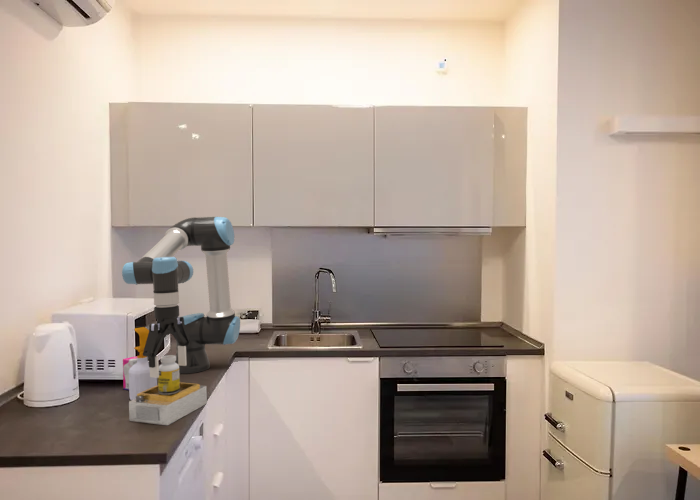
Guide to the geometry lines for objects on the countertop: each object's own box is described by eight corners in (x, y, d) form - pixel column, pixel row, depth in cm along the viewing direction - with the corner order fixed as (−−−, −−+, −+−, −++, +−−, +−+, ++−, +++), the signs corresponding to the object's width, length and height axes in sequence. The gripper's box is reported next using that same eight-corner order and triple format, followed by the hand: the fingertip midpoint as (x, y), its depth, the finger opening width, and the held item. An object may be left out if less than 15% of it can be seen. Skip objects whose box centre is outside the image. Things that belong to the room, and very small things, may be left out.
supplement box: (146, 387, 187) (145, 357, 187) (132, 391, 182) (131, 360, 182) (136, 385, 190) (135, 355, 190) (122, 389, 185) (121, 359, 185)
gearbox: (172, 400, 172) (171, 378, 171) (206, 403, 167) (206, 381, 167) (128, 421, 152) (127, 397, 152) (166, 425, 148) (165, 400, 148)
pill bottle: (155, 392, 160) (154, 356, 159) (174, 388, 164) (173, 353, 164) (163, 397, 155) (162, 360, 155) (183, 392, 160) (182, 356, 159)
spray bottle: (149, 391, 182) (146, 324, 181) (162, 396, 176) (160, 327, 175) (124, 398, 175) (122, 328, 174) (137, 403, 169) (135, 331, 168)
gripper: (181, 299, 172) (183, 360, 173) (128, 311, 148) (131, 381, 149) (199, 300, 170) (202, 361, 171) (148, 312, 146) (151, 383, 147)
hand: (169, 371), depth 160 cm, fingers open, 13 cm apart
